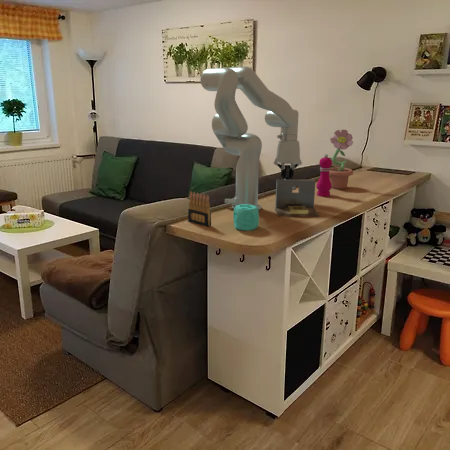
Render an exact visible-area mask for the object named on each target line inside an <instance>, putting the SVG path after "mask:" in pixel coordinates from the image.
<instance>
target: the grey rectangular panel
mask: <svg viewBox="0 0 450 450" xmlns="http://www.w3.org/2000/svg"><path fill="white" fill-rule="evenodd" d="M293 186H296V187H298V192H295V191H294V192H293V190H292V187H293ZM315 193H316V180H315V179H290V180H284V179H276V184H275V207H276V208H288V206H305V207H306V208H314V209H315Z"/></svg>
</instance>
